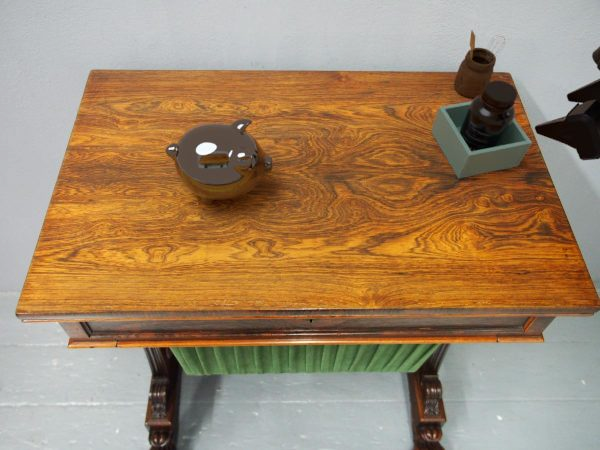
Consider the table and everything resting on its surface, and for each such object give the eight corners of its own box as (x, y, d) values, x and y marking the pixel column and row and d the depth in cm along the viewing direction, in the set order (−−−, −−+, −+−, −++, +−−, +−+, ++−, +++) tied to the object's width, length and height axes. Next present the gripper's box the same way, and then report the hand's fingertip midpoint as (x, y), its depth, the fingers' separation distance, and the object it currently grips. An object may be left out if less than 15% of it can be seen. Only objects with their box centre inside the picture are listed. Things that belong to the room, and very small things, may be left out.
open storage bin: (487, 120, 87) (498, 96, 83) (518, 166, 82) (532, 142, 77) (430, 131, 86) (439, 106, 81) (458, 178, 80) (469, 155, 75)
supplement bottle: (466, 125, 86) (491, 68, 76) (502, 144, 84) (533, 88, 74) (447, 148, 83) (470, 92, 73) (484, 168, 80) (513, 113, 70)
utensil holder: (489, 97, 91) (515, 40, 81) (457, 100, 90) (479, 43, 80) (478, 76, 94) (502, 19, 84) (447, 78, 93) (467, 21, 83)
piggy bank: (274, 215, 75) (273, 164, 65) (173, 218, 74) (157, 167, 64) (272, 158, 81) (271, 105, 71) (178, 161, 80) (165, 107, 70)
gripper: (698, -10, 58) (565, 31, 71) (631, 61, 50) (496, 92, 63) (718, 77, 61) (588, 101, 74) (658, 156, 53) (526, 167, 67)
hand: (552, 113), depth 70 cm, fingers open, 9 cm apart
